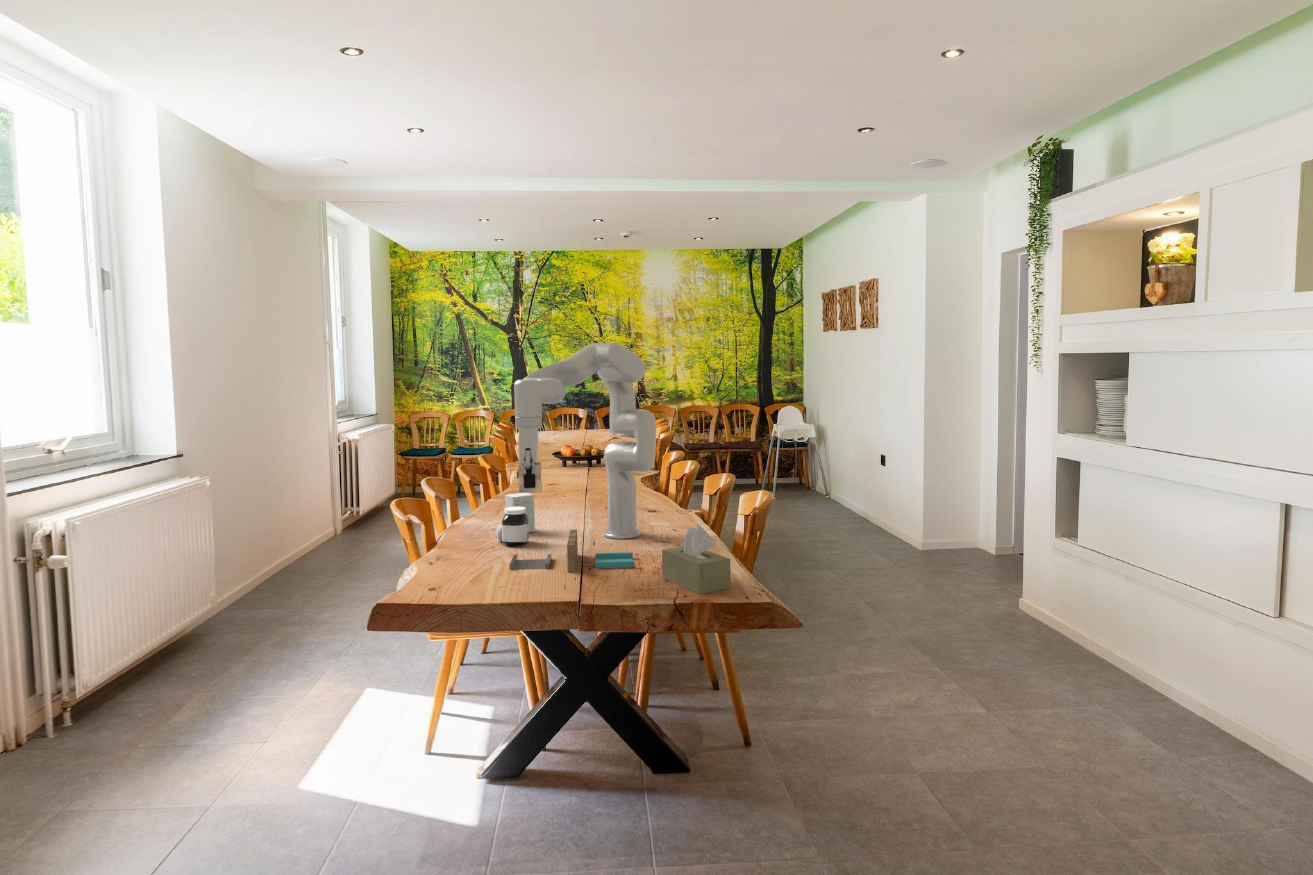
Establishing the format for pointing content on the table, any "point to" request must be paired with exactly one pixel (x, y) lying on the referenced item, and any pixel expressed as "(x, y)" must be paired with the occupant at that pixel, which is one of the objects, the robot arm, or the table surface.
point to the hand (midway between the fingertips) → (530, 485)
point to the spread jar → (514, 527)
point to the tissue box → (696, 564)
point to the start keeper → (530, 563)
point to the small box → (523, 505)
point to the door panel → (572, 551)
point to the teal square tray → (614, 560)
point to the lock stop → (537, 478)
